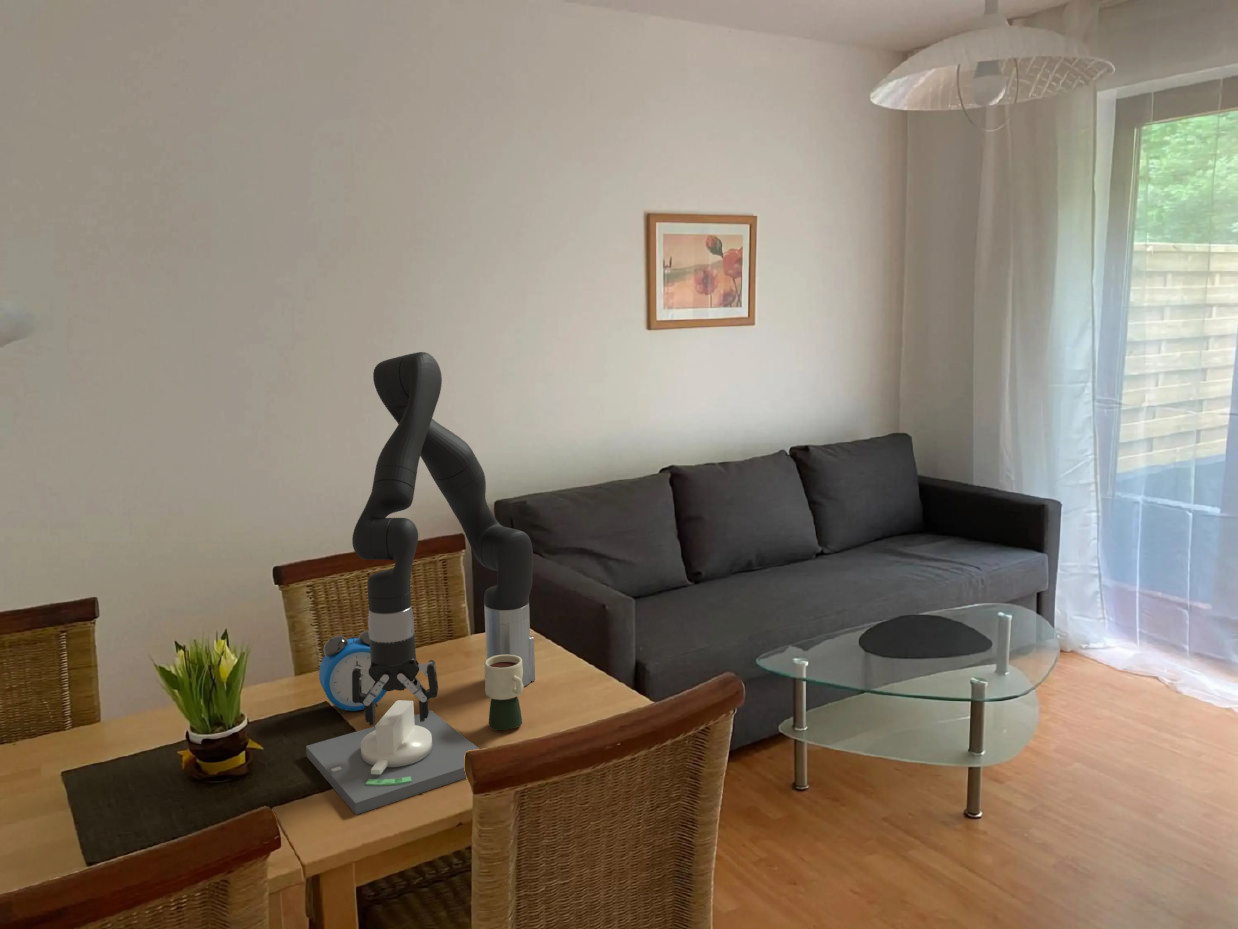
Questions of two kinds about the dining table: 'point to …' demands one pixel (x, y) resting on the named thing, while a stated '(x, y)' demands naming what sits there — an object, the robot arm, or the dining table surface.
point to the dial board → (394, 783)
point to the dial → (396, 739)
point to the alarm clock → (346, 670)
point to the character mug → (504, 690)
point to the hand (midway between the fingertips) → (397, 721)
